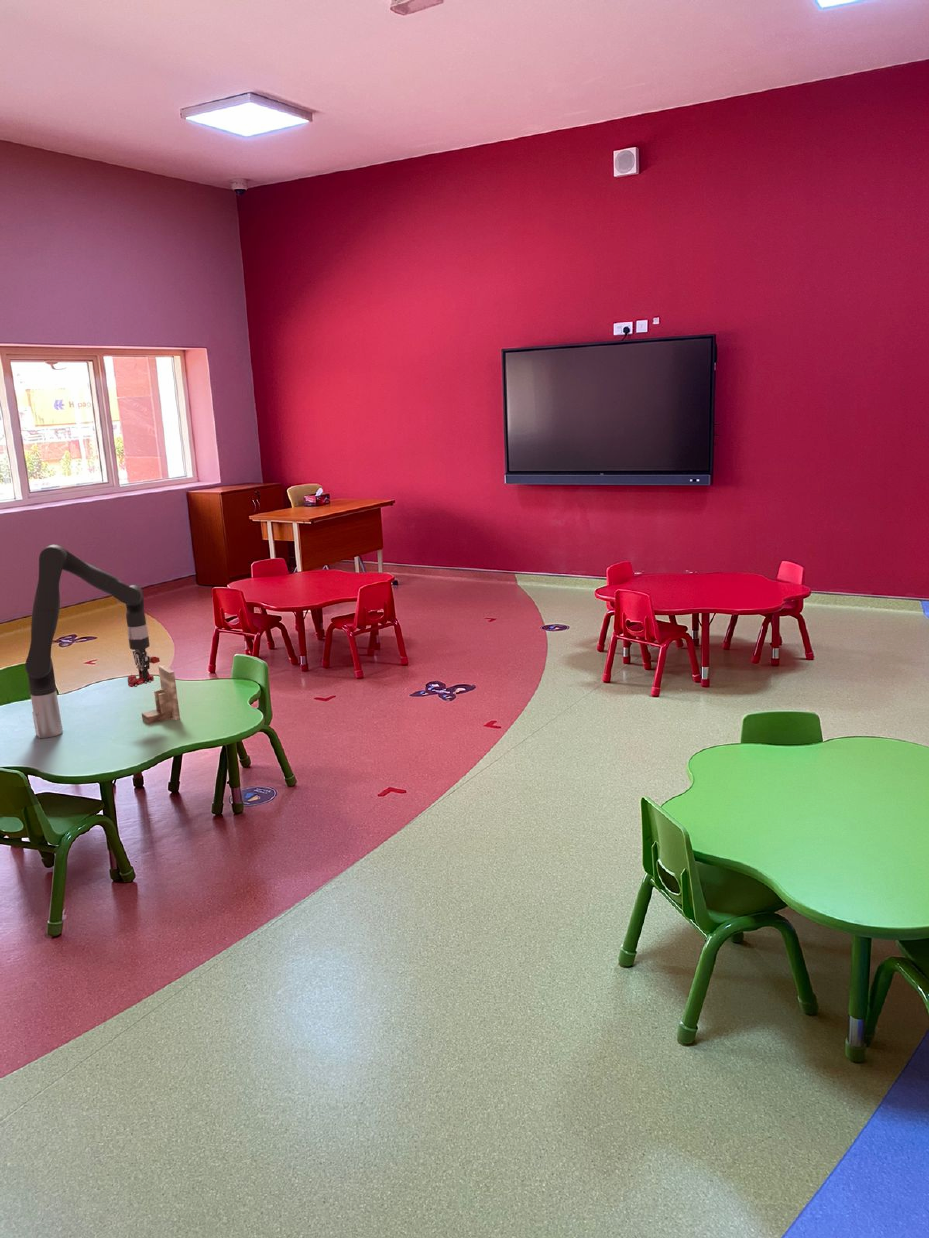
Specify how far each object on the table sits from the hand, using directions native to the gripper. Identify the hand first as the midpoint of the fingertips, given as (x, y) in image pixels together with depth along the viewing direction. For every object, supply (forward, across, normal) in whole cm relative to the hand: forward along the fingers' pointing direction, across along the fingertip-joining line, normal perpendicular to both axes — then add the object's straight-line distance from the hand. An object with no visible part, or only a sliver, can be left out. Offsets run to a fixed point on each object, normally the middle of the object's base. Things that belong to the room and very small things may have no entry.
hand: (144, 677), depth 365 cm
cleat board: (+18, 0, +4) cm, 19 cm away
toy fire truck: (+3, 0, 0) cm, 3 cm away
